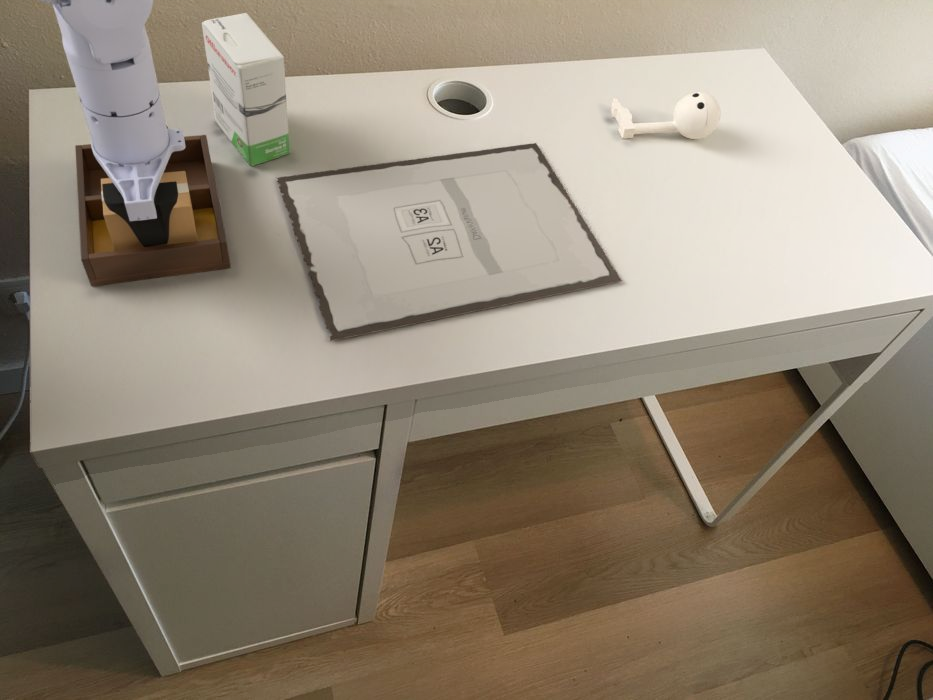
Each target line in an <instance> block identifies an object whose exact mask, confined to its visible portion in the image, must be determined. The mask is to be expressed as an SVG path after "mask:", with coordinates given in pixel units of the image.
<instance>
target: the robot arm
mask: <svg viewBox="0 0 933 700" xmlns="http://www.w3.org/2000/svg"><path fill="white" fill-rule="evenodd" d="M36 1H37V2H43V3H48V4H51V5H52V7H53V10H54V13H55V17H56V20H57V23H58V24H57V25H58V26H59V29H60V34H61V42H62V47H63V50H64V53H65V56H66V59H67V63H68V66H69V70H70V72H71V73H70V74H71V76H72V79H73V83H74V85H75V86H74V87H75V89H76V92H77V95H78V99H79V102H80V105H81V106H80V107H81V109H82V112H83V115H84V118H85V121H86V124H87V128H88V131H89V135H90V138H91V139H90V144H91V147H92V151H93V154H94V156H95V158H96V160H97V161H98V162H99V164H100V165H101V167H102V168H103V169H104V171H105V172H106V174H107V175H108V176H109V178H110V179H111V181H112V182H113V183H107V184H102V189H103V198H104V202H105V204H106V206H107V207H108V209H109V210H110V211H112V212H114V213H116V214H117V215H119V216H120V217H121V218H122V219H124V220H125V221H126V223H127V224H128V225H129V226H130V228H131V229H132V231H133V232H134V234H135V235H136V237H137V238H138V240H139V241H140V243H141V244H142V245H143V246H144V247H148V246H157V245H165V244H167V243H168V239H169V219H170V214H171V211H172V209H173V207H174V206H175V204H176V203H177V199H178V189H177V182H176V181H174V182H163V183H159V182H160V180H161V177H162V175H163V172H164V170H165V168H166V165H167V163H168V160H169V158H170V156H171V154H172V153H173V152H175V151H181V150H184V149H185V147H186V146H185V140H184V137H185V135H184V131H183V130H182V129H180V128H169V127H168V125H167V122H166V117H165V113H164V112H165V111H164V107H163V102H162V97H161V93H160V87H159V83H158V78H157V73H156V69H155V63H154V59H153V53H152V49H151V44H150V38H149V36H148V33H147V29H146V23H147V21H148V19H149V17H150V15H151V13H152V10H153V6H154V0H36Z"/></svg>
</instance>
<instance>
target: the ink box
mask: <svg viewBox="0 0 933 700" xmlns="http://www.w3.org/2000/svg"><path fill="white" fill-rule="evenodd" d="M201 28H202V35H203V43H204V50H205V56H206V63H207V69H208V78H209V84H210V92H211V97H212V107H213V113H214V119H215V120H214V121H215V123H216V124H217V125H218V126H219V128H220V129H221V131H223V133H224V134H225V135H226V137H227V138H228V139H229V141H230V142H231V143H232V145H234V147H235V149H237V151H238V152H239V153H240V155H241V156H242V157H243V158H244V160H245V161H246V163H248V165H249V166H252V167H253V166H257V165H260V164H262V163H266V162H269V161H272V160H274V159H277V158H281V157H283V156H286V155H288V154H290V153H291V150H290V149H291V148H290V147H291V146H290V138H289V137H290V136H289V135H290V133H289V119H288V103H287V88H286V87H287V86H286V85H287V84H286V70H285V58H284V56H283V54H282V53H281V51H279V49H278V48H277V47H276V46H275V45H274V43H272V41H271V40H270V38H269V37H267V35H266V34H265V33H264V32H263V30H262V29H261V28H260V27H259V26H258V25H257V23H256V22H255V21H254V20H253V19H252V18H251V16H250V15H249V13H248V12H244V13H237V14H233V15H228V16H222V17H215V18H211V19H207V20H204V21H202V22H201Z"/></svg>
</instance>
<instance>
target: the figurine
mask: <svg viewBox="0 0 933 700" xmlns="http://www.w3.org/2000/svg"><path fill="white" fill-rule="evenodd" d="M610 113H611V118H613V119H615V121H616V123H617V124H618V128H617V131H618V133H619V135H620V138H621V139H633V138H634V135H644V134H657V133H667V132H669V133H670V132H678V133H679V134H680V135H682V136H683V137H684V138H687V139H691V140H699V139H703V138H706V137H708V136H709V135H711V134H712V133H713V132H714V131H715V130H716V128H717V127H718V125H719V123H720V120H721V106H720V104H719V102H718V101H717V99H716V98H715V96H713V95H711V94H710V93H708V92H703V91H694V92H691V93H689V94H686V95H685V96H683V97H681V99H679V101H678V102H677V104H676V105H675V107H674V110H673V115H672V121H656V122H655V121H654V122H637V123H634V122H633V117H634V116H633V114H632V113H631V111H630V109H629V108H626V107H624V106H622V104H621V102H620V101H619V100H618V99H617V97H613V99H612V103H611V107H610Z"/></svg>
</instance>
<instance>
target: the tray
mask: <svg viewBox="0 0 933 700" xmlns="http://www.w3.org/2000/svg"><path fill="white" fill-rule="evenodd" d="M207 137H208V136H207V134H200V135H187V136H186V135H184V140H185V146H186V147H185V149H184V150H181V151H175V152H173V153H172V154H171V156H170V158H169V160H168V163H167V165H166V168H165V170H164V172H163V173H168V172H179V171H185V173H186V178H187V183H188V188H189V193H190V198H191V204H192V209H193V214H194V220H195V226H196V232H197V238H198V241H193V242H185V243H176V244H168V245H160V246H151V247H143V248H135V249H126V250H118V251H115V249H114V246H113V243H112V240H111V237H110V234H109V231H108V228H107V225H106V222H105V218H104V215H103V202H102V195H101V191H102V189H101V179H104V178H109V176H108V175H107V174H106V172H105V171H104V169H103V168H102V167H101V165H100V164H99V162H98V161H97V160H96V158H95V156H94V154H93V151H92V147H91V143H88V144H76V145H75V146H74V149H75V150H74V151H75V168H76V187H77V208H78V225H79V246H80V247H79V248H80V261H81V263H82V267H83V269H84V272H85V275H86V276H87V279H88V282H89V285H90V286H91V287H97V286H104V285H112V284H120V283H127V282H135V281H142V280H150V279H158V278H165V277H167V278H168V277H174V276H181V275H188V274H195V273H203V272H204V273H205V272H211V271H212V272H213V271H218V270H220V271H221V270H227V269H231V268H232V266H231V260H230V259H231V258H230V254H229V253H230V252H229V247H228V241H227V235H226V230H225V225H224V220H223V215H222V211H221V205H220V199H219V195H218V189H217V184H216V179H215V174H214V169H213V164H212V158H211V153H210V147H209V142H208V138H207Z"/></svg>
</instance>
